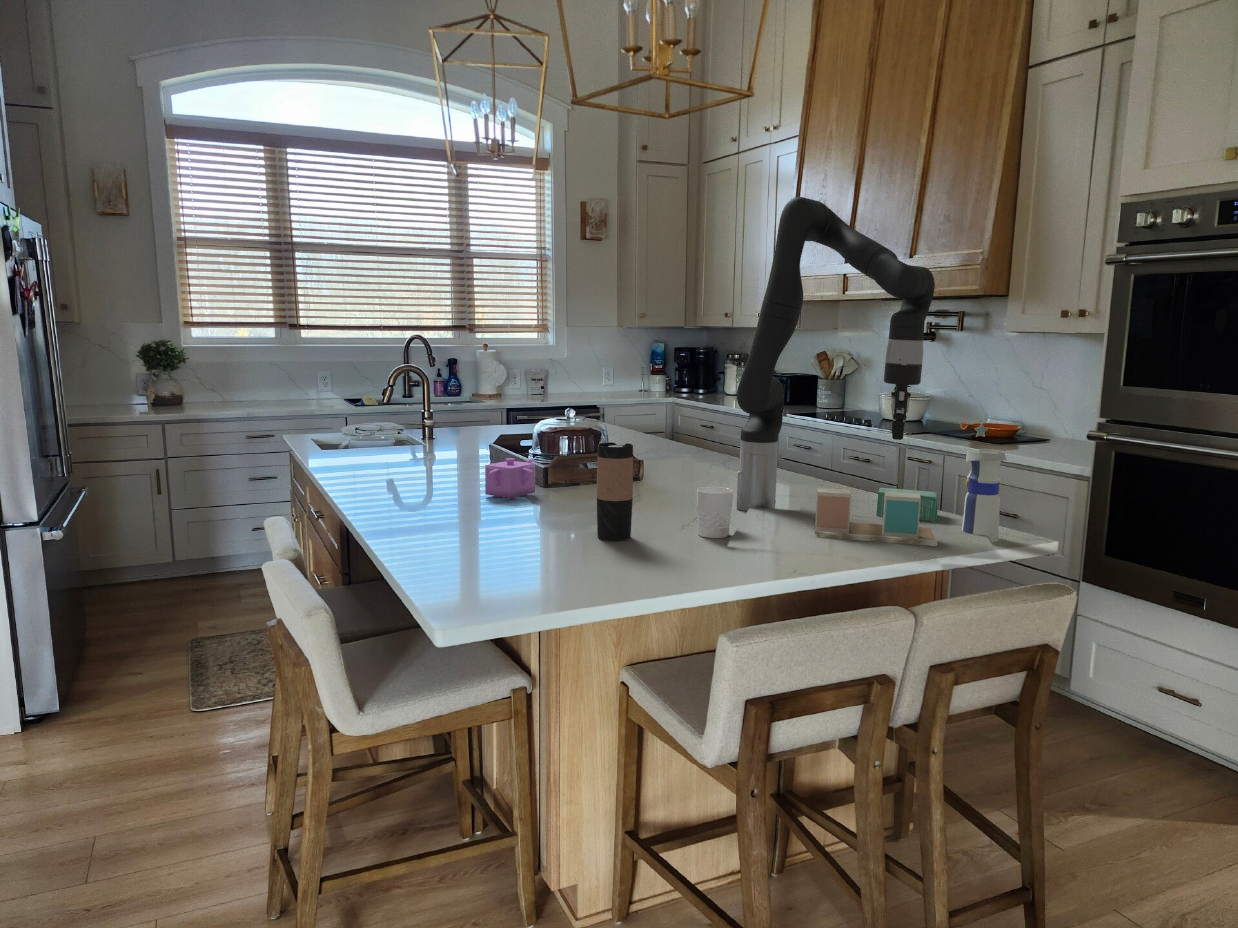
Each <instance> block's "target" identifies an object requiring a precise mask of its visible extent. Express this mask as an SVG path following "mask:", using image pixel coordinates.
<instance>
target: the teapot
mask: <svg viewBox="0 0 1238 928" xmlns="http://www.w3.org/2000/svg"><path fill="white" fill-rule="evenodd" d="M534 460H535V459H534V458H530V459H528V460H526V461H525V462H524V461H516V459H515V458H511V457H509V458H508V457H507V458H505V461H500V462H495V463H489V464H486V465H484V472H485V473H484V481H485V482H484V484H485V485H484V487H485V493H484V495H486V496H487V495H488V496H492V497H494V498H507V500H509V501H511V500H516V498H518V497H521V498H525V497H527V496H528V495H530V494H534V493H536V464H535V463H533V461H534Z"/></svg>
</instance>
